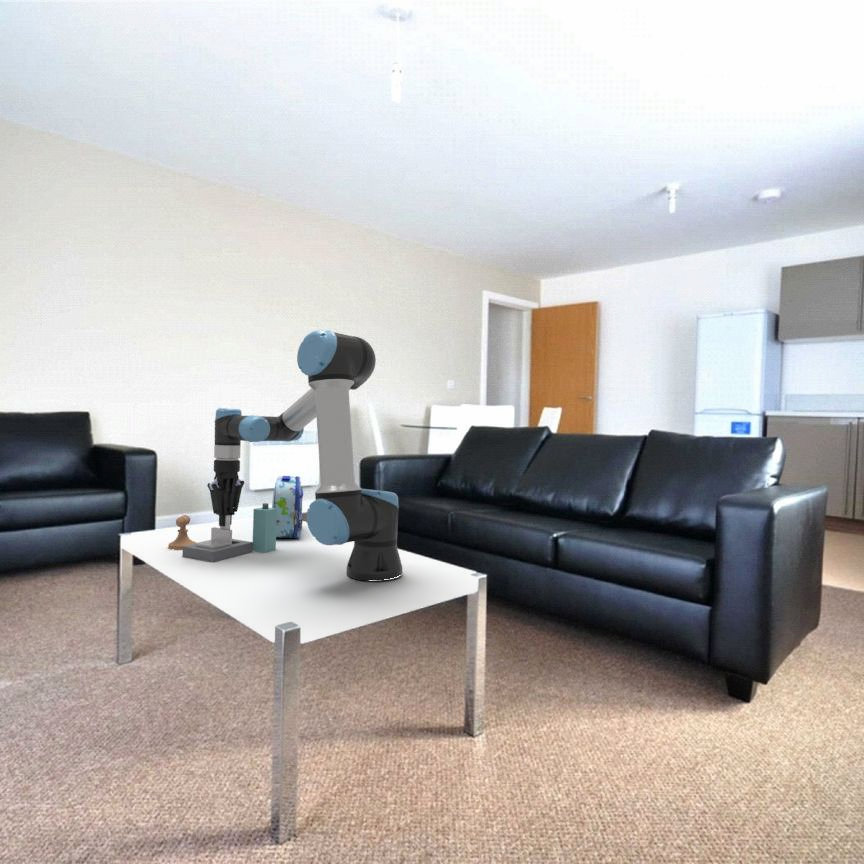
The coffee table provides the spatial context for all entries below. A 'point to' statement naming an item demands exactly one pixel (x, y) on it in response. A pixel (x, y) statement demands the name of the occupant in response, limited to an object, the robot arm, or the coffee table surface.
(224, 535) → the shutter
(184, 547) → the socket
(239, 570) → the coffee table surface
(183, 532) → the brown chess pawn
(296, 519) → the lunch box
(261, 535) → the teal bottle
